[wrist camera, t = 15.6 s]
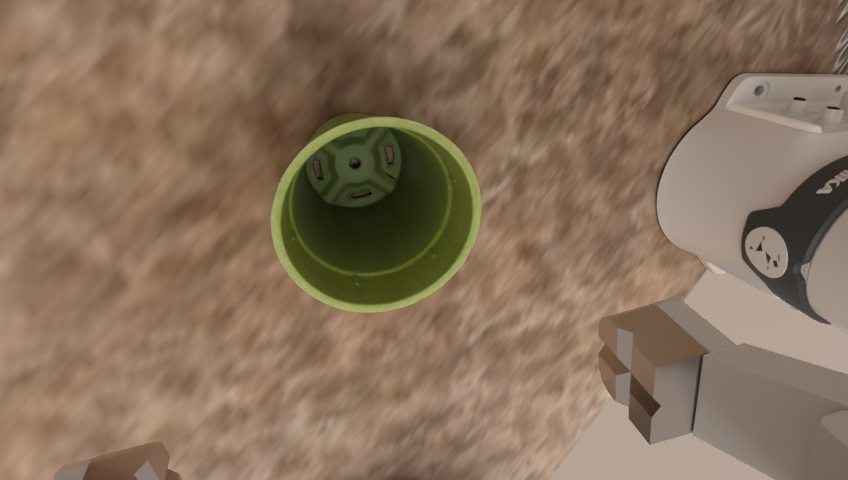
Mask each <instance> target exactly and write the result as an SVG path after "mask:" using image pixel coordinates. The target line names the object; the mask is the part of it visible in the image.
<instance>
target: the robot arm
mask: <svg viewBox="0 0 848 480" xmlns="http://www.w3.org/2000/svg"><path fill="white" fill-rule="evenodd" d="M756 88H757V90H756V91H755V89H756ZM754 91H755V93H754ZM657 214H658V219H659V223H660V226H661V228H662V230H663V232H664V234H665V235H666V237H667V238H668V239H669V240H670V241H671V242H672V243H673V244H674V245H676V246H677V247H679V248H681V249H683V250H685V251H688V252H690V253H692V254H694V255H696V256H698V258H699V259H700V261H701V262H702V264H703V265H704V266H705V267H706V268H707V269H708V270H710V271H711V272H713V273H715V274H718V275H722V274H725V273H728V274H730V275H732V276H734V277H736V278H738V279H740V280H742V281H744V282H745V283H747V284H749V285H751V286H753V287H755V288H757V289H759V290H760V291H762V292H764V293H766V294H768V295H770V296H772V297H775V298H778V299H782V300H783V301H785V302H786V303H788V304H790V305H791V307H792V308H793V309H795V310H796V311H798V312H800V313H802V314H804V315H806V316H809V317H811V318H812V319H814V320H816V321H818V322H821V323H825V324H832V325H834V326H836V327H837V328H839V329H841V330H842V331H844V332H845V333H847V334H848V74H776V73H743V74H740V75H738V76H736V77H735V78H734V79H733V80H732V81H731V82H730V84H729V85H728V86H727V88H726V89H725V91H724V92H723V94H722V96H721V97H720V99H719V100H718V102H717V104H716V106H715V107H714V108H713V109H712V110H711V112H710V113H709V114H708V115H707V116H705V117H704V118H703V119H702V120H701V121H700V122H699V123H698V124H696V125H695V126H694V127H693V128H692V129H691V130H690V131H689V132H688V133H687V134H686V136H685V137H684V138H683V139H682V140H681V142H680V143H679V144H678V146H677V147H676V149H675V150H674V152H673V153H672V155H671V157H670V159H669V160H668V162H667V164H666V167H665V169H664V171H663V174H662V177H661V180H660V184H659V188H658V194H657ZM599 337H600V338H601V339H602V340H603V341H604V343H605V345H604V346H603V348H602V349H601V351H600V352H599V354H598V359H599V370H600V374H601V377H602V380H603V383H604V385H605V386H606V388H607V390H608V392H609V393H610V395H611V396H612V397H613V398H614V400H615V401H617V402H619V403H621V404H623V405H626V406H628V407H629V419H630V420H631V422H632V423H633V424H634V425H635V427H636V428H637V429H638V430H639V432H640V433H641V434H642V436H643V437H644V438H645V439H646V441H647V442H648V443H649V444H654V443H657V442H661V441H664V440H668V439H671V438H675V437H678V436H682V435H686V434H689V433H693V435H694V436H696V437H698V438H700V439H701V440H703V441H705V442H707V443H709V444H711V445H712V446H714V447H716V448H718V449H720V450H722V451H723V452H725V453H727V454H729V455H731V456H733V457H735V458H736V459H738V460H740V461H742V462H744V463H745V464H748V465H749V466H751V467H753V468H755V469H756V470H758V471H760V472H762V473H764V474H766V475H767V476H769V477H771V478H773V479H775V480H848V374H844V373H841V372H838V371H834V370H831V369H828V368H824V367H821V366H818V365H815V364H811V363H808V362H804V361H801V360H798V359H795V358H791V357H788V356H785V355H781V354H778V353H775V352H771V351H768V350H765V349H762V348H758V347H755V346H751V345H748V344H745V343H744V344H740V345H736V344H735V343H733V342H732V341H731V340H730V339H728V338H727V337H726V336H725V335H723V334H722V333H721V332H720V331H719V330H717V329H716V328H715V327H714V326H712V325H711V324H710V323H709V322H708V321H706V320H705V319H704V318H702V317H701V316H700V315H699V314H698V313H697V312H695V311H694V310H693V309H692V308H690V307H689V306H688V305H687V304H685V303H684V302H683V301H682V300H680V299H678V298H674V297H672V298H669V299H665V300H662V301H659V302H655V303H652V304H649V305H648V306H643V307H640V308H636V309H633V310H629V311H626V312H622V313H619V314H615V315H612V316H608V317H605V318H602V319H601V321H600V324H599ZM169 458H170V456H169V454H168V452H167V451H166V449H165V447H164V445H163V444H162V443H160V442H153V443H149V444H145V445H141V446H137V447H133V448H129V449H125V450H121V451H117V452H113V453H109V454H105V455H101V456H97V457H95V458H92V459H88V460H84V461H80V462H76V463H72V464H68V465H64V466H63V467H62V468H61V469H60V470H59V471H57V472H56V474H55V476H54V478H53V480H182V479H181V477H180V475H179V474H178V473H176V472H174V471H171V470H169V469H167V468H168V463H169Z"/></svg>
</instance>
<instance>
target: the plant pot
mask: <svg viewBox="0 0 848 480" xmlns="http://www.w3.org/2000/svg"><path fill="white" fill-rule="evenodd" d="M386 146H391V147H392V151H393V155H394V158H393V160H394V161H393V164H391V165H390V164H388V162H387V154H386V149H385V147H386ZM352 159H358V160H359V161H360V165H359V167H358V168H352V167H351V166H350V162H351V160H352ZM314 160H319V161H320V167H321V172H322V176H323V178H324V179H322V180H319V179H318V178H317V176H316V174H315V170H314V163H313V161H314ZM386 173H388V174H390V175H391V176H393V177H395V179H396V180H393V179H392V178H391V177H389V176H388V175H386ZM368 190H369V191H370V192H371V193H373V194H370V195H366V196H365V197H361V198H356V199H354V198H352V194H357V193H362V192H365V191H368ZM480 221H481V194H480V188H479V184H478V181H477V178H476V175H475V173H474V171H473V169H472V167H471V165H470V163H469V161H468V160H467V158H466V157H465V155H464V154H463V153H462V151H461V150H460V149H459V148H458V147H457V146H456V145H455V144H454V143H453V142H452V141H451V140H449V139H448V138H447V137H446V136H444V135H443V134H441V133H440V132H438V131H436V130H435V129H433V128H431V127H429V126H427V125H424V124H422V123H419V122H416V121H412V120H409V119H404V118H397V117H374V116H371V115H367V114H362V113H347V114H342V115H338V116H336V117H333V118H331V119H330V120H328V121H326V122H325V123H323V124H322V125H321V126H320V127H319V128H318V129H317V130H316V131H315V132H314V133H313V135H312V136H311V138H310V140H309V141H308V143H307V146H306V147H304V148H303V149H302V150H301V151H300V152H299V153H298V155H297V156H296V157H295V158H294V159H293V161H292V162H291V163H290V165H289V166H288V168H287V169H286V171H285V172H284V174H283V176H282V178H281V180H280V182H279V184H278V187H277V189H276V192H275V196H274V199H273V204H272V209H271V234H272V240H273V244H274V248H275V251H276V253H277V256H278V258H279V260H280V262H281V264H282V266H283V267H284V269H285V271H286V272H287V273H288V275H289V276H290V277H291V278H292V280H293V281H294V282H295V283H296V284H297V285H298V286H299V287H300V288H301V289H303V290H304V291H305V292H306V293H308V294H309V295H311V296H312V297H314V298H315V299H317V300H319V301H321V302H323V303H325V304H328V305H330V306H333V307H336V308H339V309H343V310H347V311H352V312H367V313H372V312H385V311H390V310H394V309H398V308H402V307H405V306H408V305H411V304H413V303H416V302H417V301H419V300H421V299H423V298H425V297H427V296H429V295H430V294H432V293H433V292H435V291H436V290H438V289H439V288H440V287H442V286H443V285H444V284H445V283H446V282H447V281H448V280H449V279H450V278H451V277H452V276H453V275H454V274H455V273H456V272H457V271H458V270H459V269H460V267H461V266H462V265H463V263H464V262H465V260H466V258H467V257H468V255H469V253H470V251H471V249H472V247H473V245H474V243H475V240H476V237H477V234H478V231H479V227H480Z"/></svg>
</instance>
